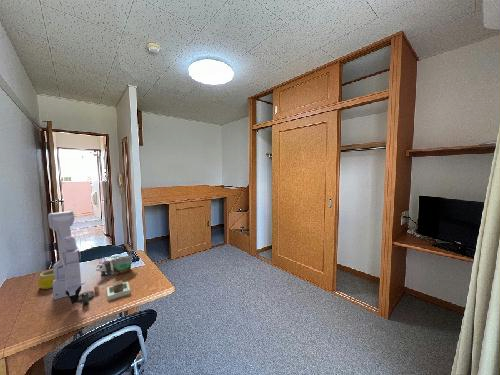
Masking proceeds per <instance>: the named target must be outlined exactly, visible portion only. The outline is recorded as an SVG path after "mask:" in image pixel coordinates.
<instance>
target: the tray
mask: <svg viewBox="0 0 500 375" xmlns="http://www.w3.org/2000/svg"><path fill="white" fill-rule="evenodd" d="M122 283H123V291H121V292H117V293H114V285H110V286H107V287H106V292H107V294H106V295H107V301H112V300H115V299H118V298H122V297H125V296H128V295H129V296H130V295H131V287H130V284H129V282H128V281H125V282H122Z"/></svg>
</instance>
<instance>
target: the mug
mask: <svg viewBox="0 0 500 375" xmlns="http://www.w3.org/2000/svg"><path fill="white" fill-rule="evenodd" d="M53 270H54V268H51V269H48V270H44V271H43V272H41V273H40V274H39V279H38V287H39V288H40V289H42V290H45V289H46V290H47V289H53V280H56V279H55V278H54V271H53Z"/></svg>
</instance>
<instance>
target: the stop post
mask: <svg viewBox="0 0 500 375" xmlns="http://www.w3.org/2000/svg"><path fill="white" fill-rule="evenodd" d="M93 289H94V290H93V292H94V295H95V294H99V293H100V286H99V284H98V285H94V286H93Z"/></svg>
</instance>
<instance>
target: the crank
mask: <svg viewBox="0 0 500 375" xmlns="http://www.w3.org/2000/svg"><path fill="white" fill-rule="evenodd" d="M94 295H95V293H94V290H88V291H84V292H81V293H79V298H78V302H79V301H80V302H82V306H88V305H89V304H90V299H92V298H93V297H94Z"/></svg>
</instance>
